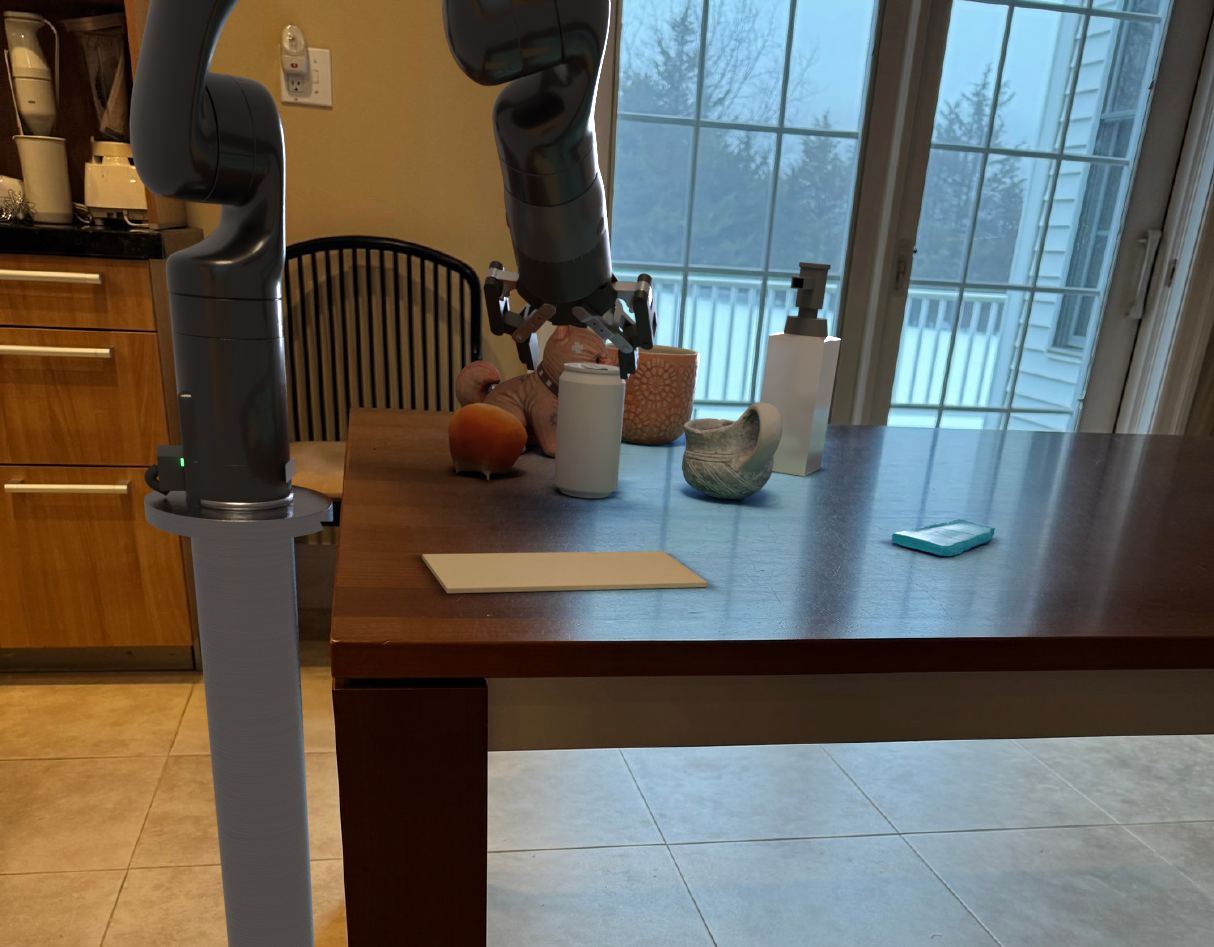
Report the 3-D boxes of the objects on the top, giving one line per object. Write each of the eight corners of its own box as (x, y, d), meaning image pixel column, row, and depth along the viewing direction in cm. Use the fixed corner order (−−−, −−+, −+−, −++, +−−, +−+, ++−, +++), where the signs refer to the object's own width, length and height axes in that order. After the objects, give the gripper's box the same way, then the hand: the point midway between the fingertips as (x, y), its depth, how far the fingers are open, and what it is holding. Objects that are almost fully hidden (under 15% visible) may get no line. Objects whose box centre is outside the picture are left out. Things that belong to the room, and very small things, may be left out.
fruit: (425, 462, 113) (443, 386, 114) (453, 491, 121) (471, 420, 121) (499, 472, 111) (518, 395, 112) (523, 502, 119) (541, 430, 119)
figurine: (596, 466, 126) (606, 320, 119) (438, 444, 130) (439, 303, 124) (622, 453, 134) (633, 317, 128) (473, 433, 139) (476, 300, 132)
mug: (730, 484, 123) (742, 387, 118) (809, 511, 114) (826, 406, 109) (659, 489, 117) (668, 387, 113) (736, 517, 108) (750, 407, 104)
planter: (693, 437, 150) (703, 349, 145) (687, 452, 139) (697, 357, 134) (601, 428, 151) (607, 339, 146) (587, 442, 140) (593, 347, 135)
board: (446, 593, 79) (447, 588, 79) (422, 559, 87) (422, 553, 87) (706, 587, 86) (707, 582, 86) (662, 555, 93) (663, 550, 93)
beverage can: (566, 500, 109) (574, 368, 104) (544, 485, 115) (550, 359, 109) (626, 499, 112) (637, 370, 106) (602, 485, 117) (611, 361, 111)
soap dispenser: (744, 470, 131) (771, 260, 121) (769, 460, 138) (796, 261, 128) (798, 479, 129) (830, 265, 119) (820, 468, 136) (852, 266, 126)
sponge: (1015, 534, 107) (963, 513, 110) (945, 548, 99) (891, 526, 102) (1010, 549, 107) (958, 528, 111) (939, 565, 100) (886, 542, 103)
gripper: (658, 189, 86) (665, 340, 102) (478, 175, 88) (511, 326, 104) (641, 267, 84) (650, 409, 99) (457, 251, 86) (494, 393, 101)
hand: (579, 367), depth 101 cm, fingers open, 8 cm apart
